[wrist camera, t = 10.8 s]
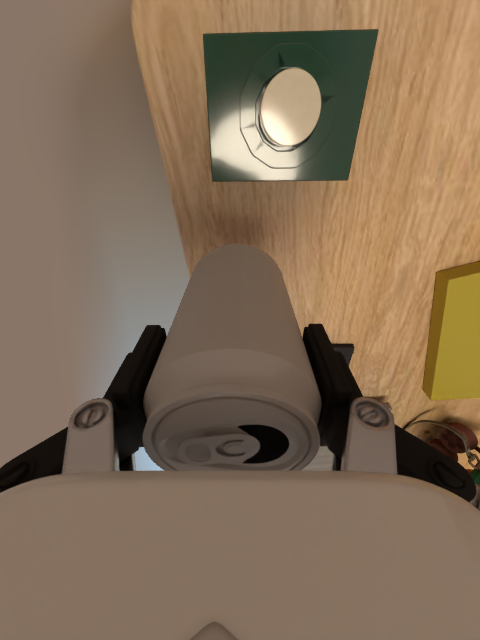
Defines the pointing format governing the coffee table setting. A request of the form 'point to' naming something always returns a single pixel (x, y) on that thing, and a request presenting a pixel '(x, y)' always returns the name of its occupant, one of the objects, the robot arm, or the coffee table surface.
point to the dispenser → (247, 92)
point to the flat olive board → (454, 335)
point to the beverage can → (233, 373)
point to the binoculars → (456, 444)
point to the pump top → (290, 107)
